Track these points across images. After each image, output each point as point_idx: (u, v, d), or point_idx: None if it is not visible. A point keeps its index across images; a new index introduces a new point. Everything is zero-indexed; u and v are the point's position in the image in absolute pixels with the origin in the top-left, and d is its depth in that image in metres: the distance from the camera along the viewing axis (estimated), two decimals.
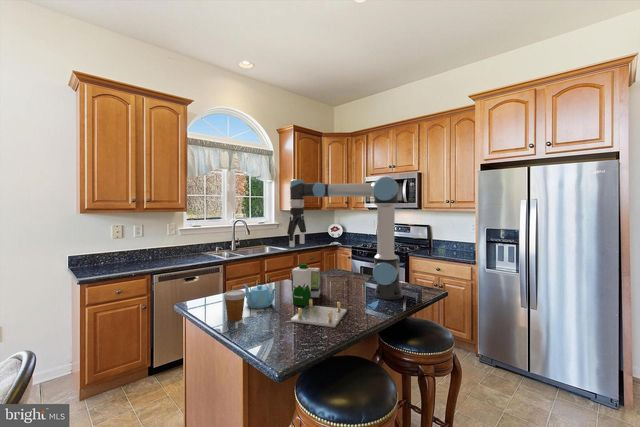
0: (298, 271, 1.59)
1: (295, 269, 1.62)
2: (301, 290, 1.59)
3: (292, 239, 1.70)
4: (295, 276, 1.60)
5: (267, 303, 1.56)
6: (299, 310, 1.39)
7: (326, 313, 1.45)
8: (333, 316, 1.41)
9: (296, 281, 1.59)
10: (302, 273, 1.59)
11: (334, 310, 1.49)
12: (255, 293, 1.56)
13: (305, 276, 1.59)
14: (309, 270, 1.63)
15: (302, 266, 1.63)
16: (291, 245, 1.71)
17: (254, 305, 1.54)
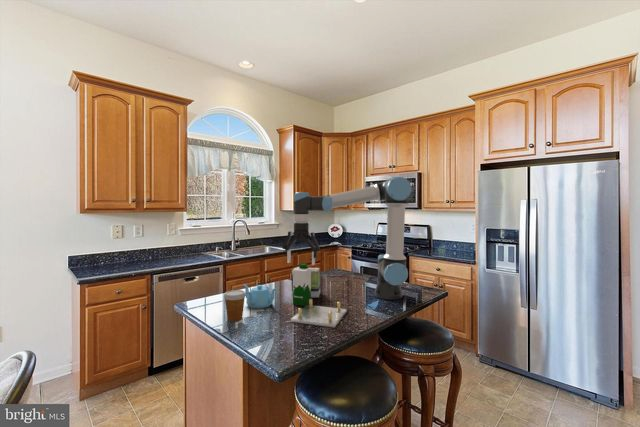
0: (298, 271, 1.59)
1: (295, 269, 1.62)
2: (301, 290, 1.59)
3: (286, 254, 1.65)
4: (295, 276, 1.60)
5: (267, 303, 1.56)
6: (299, 310, 1.39)
7: (326, 313, 1.45)
8: (333, 316, 1.41)
9: (296, 281, 1.59)
10: (302, 273, 1.59)
11: (334, 310, 1.49)
12: (255, 293, 1.56)
13: (305, 276, 1.59)
14: (309, 270, 1.63)
15: (302, 266, 1.63)
16: None
17: (254, 305, 1.54)
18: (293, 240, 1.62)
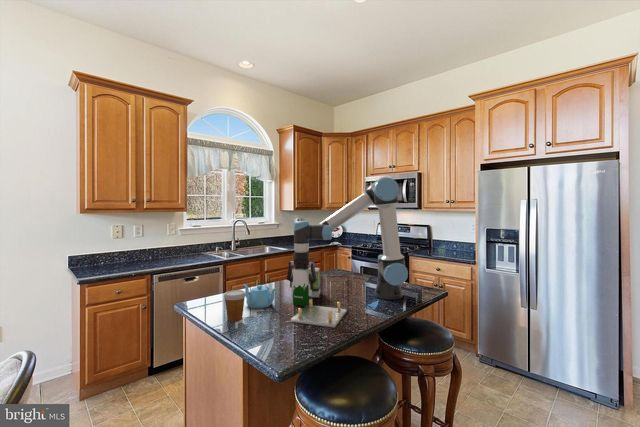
0: (298, 271, 1.59)
1: (295, 269, 1.62)
2: (301, 290, 1.59)
3: (291, 286, 1.65)
4: (295, 276, 1.60)
5: (267, 303, 1.56)
6: (299, 310, 1.39)
7: (326, 313, 1.45)
8: (333, 316, 1.41)
9: (296, 281, 1.59)
10: (302, 273, 1.59)
11: (334, 310, 1.49)
12: (255, 293, 1.56)
13: (305, 276, 1.59)
14: (309, 270, 1.63)
15: None
16: None
17: (254, 305, 1.54)
18: None
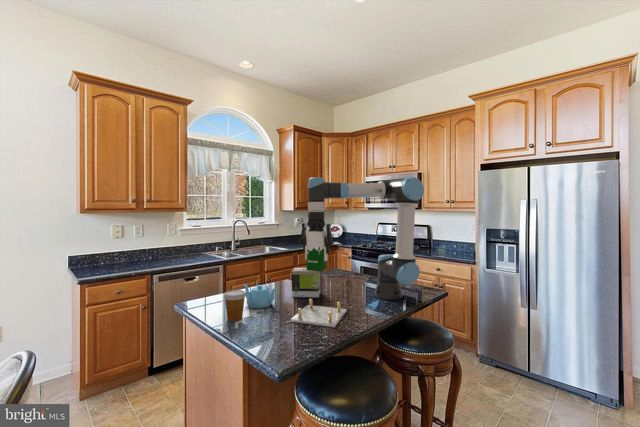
0: (312, 233, 1.43)
1: (309, 231, 1.45)
2: (316, 253, 1.42)
3: (304, 250, 1.48)
4: (309, 238, 1.43)
5: (267, 303, 1.56)
6: (299, 310, 1.39)
7: (326, 313, 1.45)
8: (333, 316, 1.41)
9: (310, 244, 1.43)
10: (317, 235, 1.42)
11: (334, 310, 1.49)
12: (255, 293, 1.56)
13: (320, 238, 1.42)
14: (325, 232, 1.46)
15: None
16: None
17: (254, 305, 1.54)
18: None
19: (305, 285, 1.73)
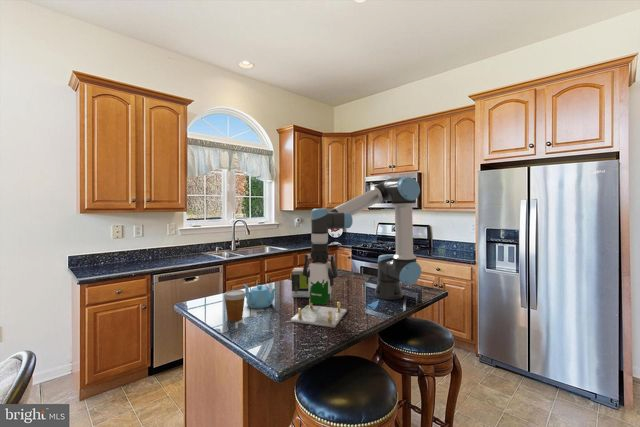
0: (316, 265, 1.40)
1: (313, 263, 1.42)
2: (320, 286, 1.39)
3: (307, 282, 1.45)
4: (313, 271, 1.40)
5: (267, 303, 1.56)
6: (299, 310, 1.39)
7: (326, 313, 1.45)
8: (333, 316, 1.41)
9: (314, 276, 1.40)
10: (321, 267, 1.39)
11: (334, 310, 1.49)
12: (255, 293, 1.56)
13: (324, 271, 1.40)
14: (328, 264, 1.43)
15: None
16: None
17: (254, 305, 1.54)
18: None
19: (305, 285, 1.73)
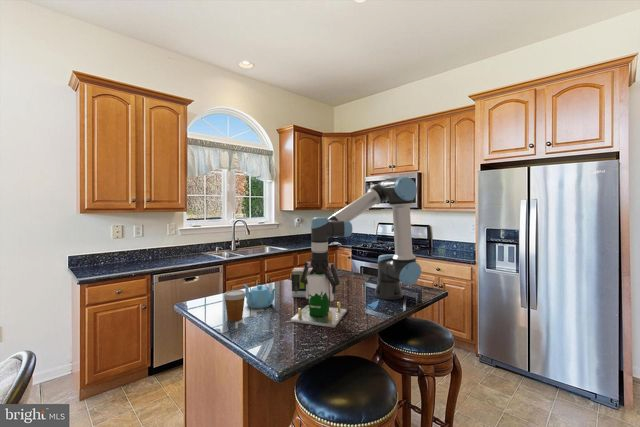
0: (314, 277, 1.40)
1: (310, 275, 1.43)
2: (318, 298, 1.40)
3: (305, 289, 1.46)
4: (311, 283, 1.41)
5: (267, 303, 1.56)
6: (299, 310, 1.39)
7: None
8: (333, 316, 1.41)
9: (312, 289, 1.40)
10: (319, 279, 1.40)
11: (334, 310, 1.49)
12: (255, 293, 1.56)
13: (322, 283, 1.40)
14: None
15: None
16: None
17: (254, 305, 1.54)
18: (311, 272, 1.44)
19: None
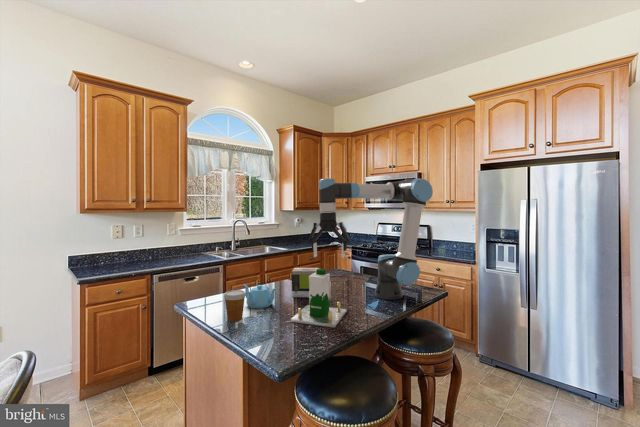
0: (316, 278, 1.40)
1: (312, 275, 1.43)
2: (319, 299, 1.40)
3: (312, 248, 1.50)
4: (312, 283, 1.41)
5: (267, 303, 1.56)
6: (299, 310, 1.39)
7: None
8: (333, 316, 1.41)
9: (314, 289, 1.40)
10: (321, 280, 1.40)
11: (334, 310, 1.49)
12: (255, 293, 1.56)
13: (324, 283, 1.40)
14: (328, 276, 1.44)
15: (320, 272, 1.44)
16: None
17: (254, 305, 1.54)
18: (320, 232, 1.48)
19: (305, 285, 1.73)
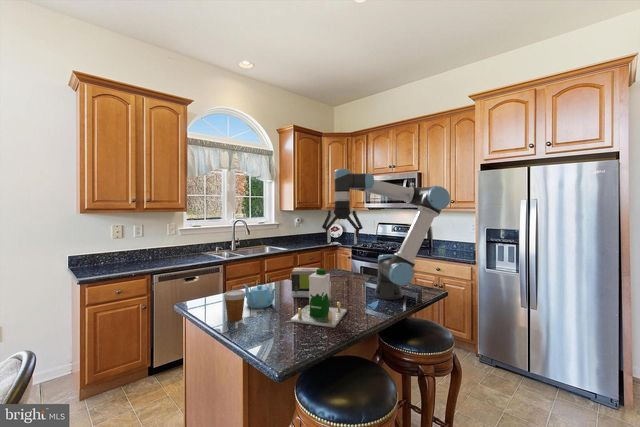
0: (316, 278, 1.40)
1: (312, 275, 1.43)
2: (319, 299, 1.40)
3: (326, 234, 1.59)
4: (312, 283, 1.41)
5: (267, 303, 1.56)
6: (299, 310, 1.39)
7: None
8: (333, 316, 1.41)
9: (314, 289, 1.40)
10: (321, 280, 1.40)
11: (334, 310, 1.49)
12: (255, 293, 1.56)
13: (324, 283, 1.40)
14: (328, 276, 1.44)
15: (320, 272, 1.44)
16: None
17: (254, 305, 1.54)
18: (334, 219, 1.57)
19: (305, 285, 1.73)
